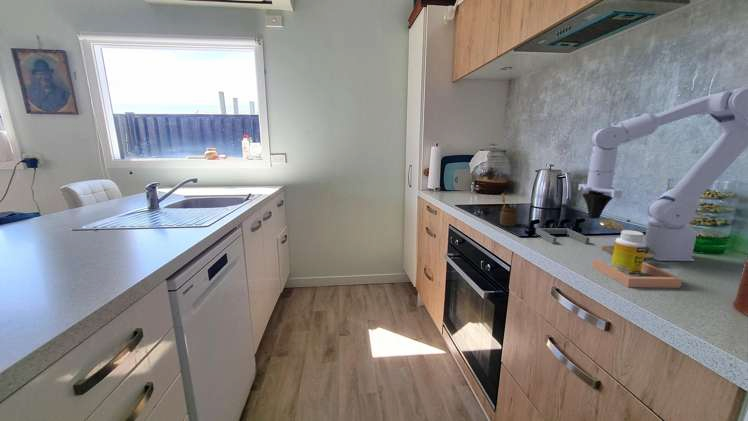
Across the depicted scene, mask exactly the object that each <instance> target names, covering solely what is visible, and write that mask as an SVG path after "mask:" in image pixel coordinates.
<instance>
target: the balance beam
mask: <svg viewBox="0 0 748 421" xmlns="http://www.w3.org/2000/svg"><path fill="white" fill-rule="evenodd" d="M598 224H599V225H600V226H601V227H602V228H604V229H608V230H613V231H617V230H621V231H623V230H628V229H626V228H625V227H624V226H623V225H622V224H620V223H619V222H617V221H616V220H615V219H614V218H612V217H609V219H607V218H606V219H600V220H599V222H598ZM654 257H655V252H654V251H652V250H651V249H650V248H649V247H648V246H647V245H646V249H645V254H644V258H647V259H653V258H654Z"/></svg>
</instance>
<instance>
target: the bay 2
mask: <svg viewBox="0 0 748 421" xmlns="http://www.w3.org/2000/svg"><path fill="white" fill-rule="evenodd" d="M591 266H592V268H593V269H596V270H597V271H599V272H600V273H602V274H604V275H606V276H608V277H609V278H611V279H613V280H614V281H616V282H617V283H620V285H621V284H622V286H625V287H627V288H663V289H664V288H669V289H670V288H675V289H676V288H681V286H682V281H683V279H682V278H681V277H678V276H677V275H674V274H671V273H669V272H667V271H666V270H665V271H664V270H662V269H660V268H658V267H656V266H653V265H652V264H650V263H647V262H645V261H643V264H642V269H641V272H643V273H644V274H647V275H648V276H637V277H630V276H628V275H626V274H624V273H622V272H620V271H619V270H617V269H615V268H613V267H611V265H609V264H607V263H605V262H603V261H602V260H600V259H598V258H597V259H593V261H592V265H591Z"/></svg>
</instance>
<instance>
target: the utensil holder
mask: <svg viewBox="0 0 748 421" xmlns="http://www.w3.org/2000/svg"><path fill="white" fill-rule="evenodd" d="M501 201H502V202H503V206H502V207H501V211H500V214H499V224H500V225H502V226H505V227H514V226H516V225H517V218H518V217H517V215H518V213H517V207H516V205H517V203H518V201H517V200H515V198H511V200H510V201H511V202H514V203H513V205H505V204H506V198H505V193H504V192H503V193H501Z"/></svg>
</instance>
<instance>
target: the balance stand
mask: <svg viewBox="0 0 748 421" xmlns="http://www.w3.org/2000/svg"><path fill="white" fill-rule="evenodd" d="M601 250H602V251H604V252H606V253H608V254H610V255H612V256H613V251H614V245H602V248H601ZM647 260H648V258H644V259H643V261H647Z"/></svg>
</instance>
